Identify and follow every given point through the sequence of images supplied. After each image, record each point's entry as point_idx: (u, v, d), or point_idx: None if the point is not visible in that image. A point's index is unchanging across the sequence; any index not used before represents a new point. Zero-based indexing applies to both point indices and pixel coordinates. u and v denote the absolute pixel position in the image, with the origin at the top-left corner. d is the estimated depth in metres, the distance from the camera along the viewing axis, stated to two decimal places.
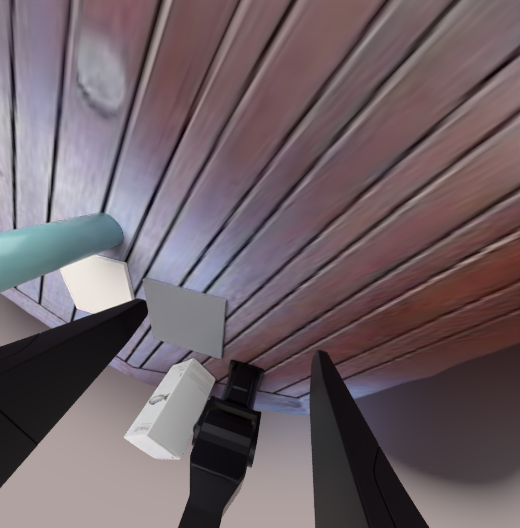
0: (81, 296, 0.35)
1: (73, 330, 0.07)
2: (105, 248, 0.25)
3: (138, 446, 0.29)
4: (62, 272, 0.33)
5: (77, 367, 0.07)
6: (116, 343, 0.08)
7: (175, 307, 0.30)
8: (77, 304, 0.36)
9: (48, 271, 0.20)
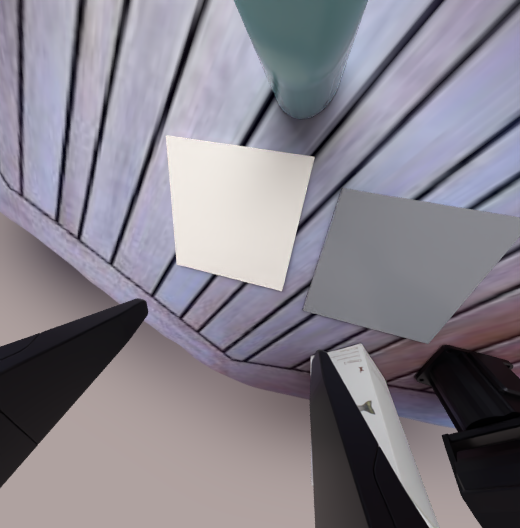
0: (193, 240, 0.22)
1: (73, 330, 0.07)
2: (330, 92, 0.12)
3: None
4: (173, 194, 0.20)
5: (77, 367, 0.07)
6: (116, 343, 0.08)
7: (387, 245, 0.17)
8: (180, 256, 0.23)
9: (344, 27, 0.06)
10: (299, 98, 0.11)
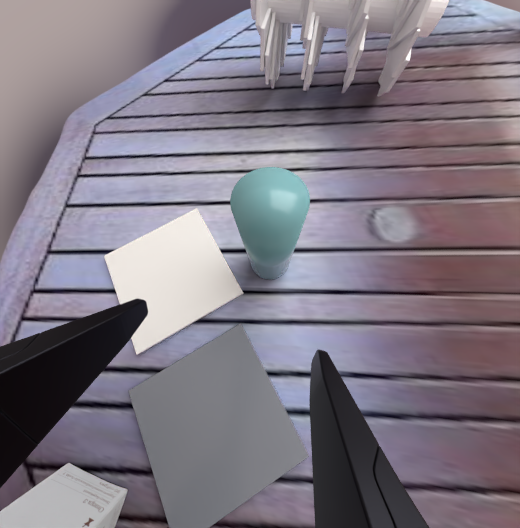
0: (136, 256, 0.24)
1: (73, 330, 0.07)
2: (267, 274, 0.21)
3: None
4: (163, 227, 0.25)
5: (77, 367, 0.07)
6: (116, 343, 0.08)
7: (230, 389, 0.19)
8: (114, 255, 0.25)
9: (263, 256, 0.15)
10: (250, 261, 0.19)
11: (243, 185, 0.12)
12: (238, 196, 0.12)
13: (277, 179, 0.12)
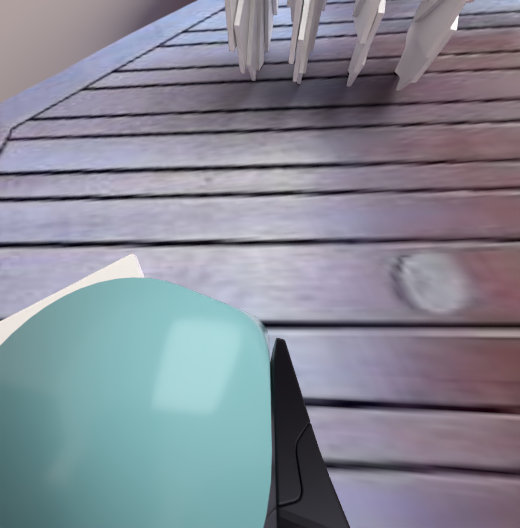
0: None
1: None
2: None
3: None
4: (78, 285, 0.17)
5: None
6: None
7: None
8: None
9: None
10: None
11: (19, 360, 0.03)
12: None
13: (151, 337, 0.03)
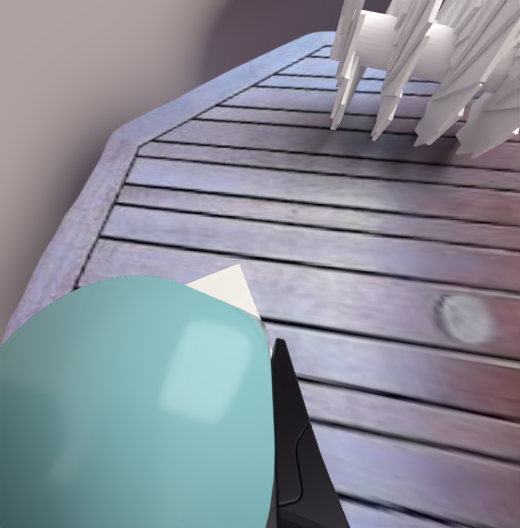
0: None
1: None
2: None
3: None
4: (200, 281, 0.23)
5: None
6: None
7: None
8: None
9: None
10: None
11: (22, 357, 0.03)
12: None
13: (154, 334, 0.03)
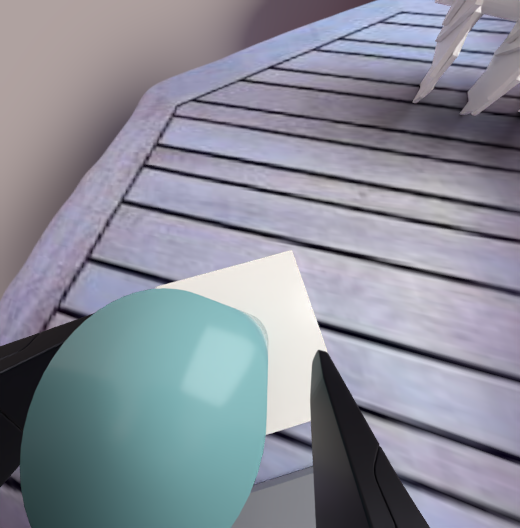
0: None
1: (73, 330, 0.07)
2: None
3: None
4: (242, 267, 0.18)
5: None
6: None
7: None
8: None
9: None
10: None
11: (82, 349, 0.04)
12: (56, 393, 0.04)
13: (179, 332, 0.04)
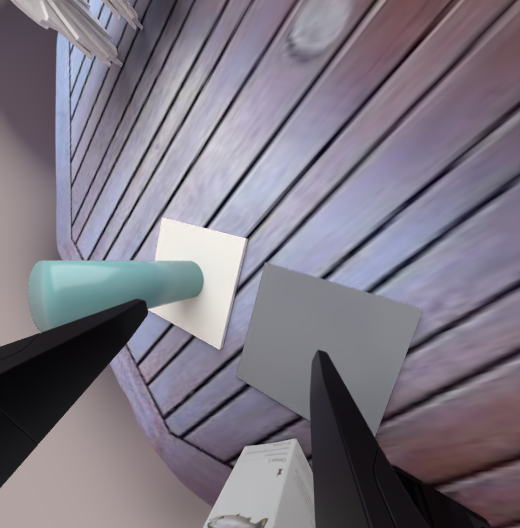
0: None
1: (73, 330, 0.07)
2: (185, 294, 0.21)
3: None
4: (157, 254, 0.27)
5: (77, 367, 0.07)
6: (116, 343, 0.08)
7: (303, 315, 0.18)
8: None
9: None
10: None
11: (32, 307, 0.13)
12: (36, 318, 0.13)
13: (36, 279, 0.13)
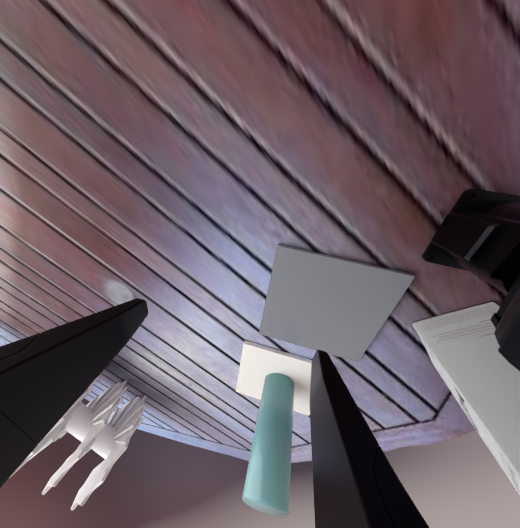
0: None
1: (73, 330, 0.07)
2: (286, 393, 0.27)
3: None
4: None
5: (77, 367, 0.07)
6: (116, 343, 0.08)
7: (295, 313, 0.23)
8: (302, 411, 0.33)
9: (283, 451, 0.22)
10: (292, 416, 0.26)
11: (274, 514, 0.20)
12: (280, 515, 0.19)
13: (255, 506, 0.20)
